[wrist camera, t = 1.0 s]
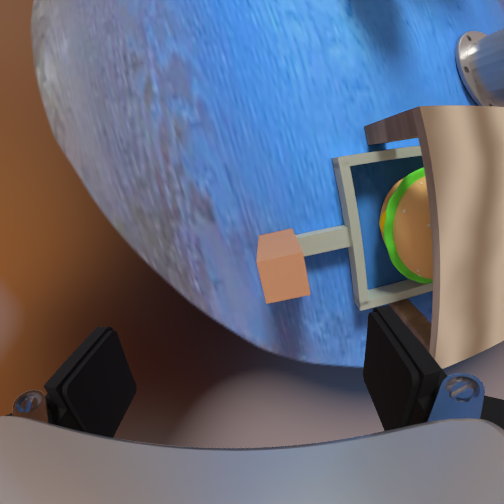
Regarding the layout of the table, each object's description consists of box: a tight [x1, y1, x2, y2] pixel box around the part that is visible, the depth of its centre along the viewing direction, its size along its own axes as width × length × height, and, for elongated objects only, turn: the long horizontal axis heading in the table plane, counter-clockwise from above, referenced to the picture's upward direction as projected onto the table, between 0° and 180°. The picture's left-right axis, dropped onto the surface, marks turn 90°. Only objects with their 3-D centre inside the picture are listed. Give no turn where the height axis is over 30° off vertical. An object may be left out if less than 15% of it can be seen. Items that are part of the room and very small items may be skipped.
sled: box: [257, 146, 433, 311], centre depth 26 cm, size 26×16×9 cm, turn 103°
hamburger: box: [379, 167, 433, 284], centre depth 26 cm, size 12×12×9 cm
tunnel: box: [364, 106, 504, 369], centre depth 24 cm, size 10×22×12 cm, turn 13°
